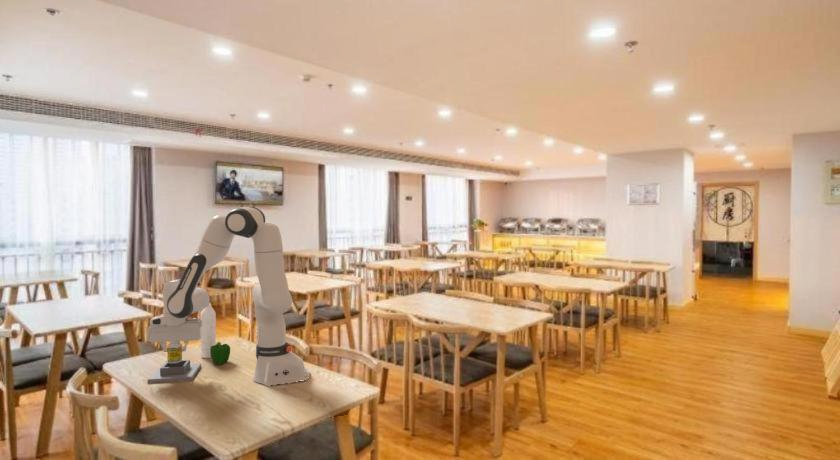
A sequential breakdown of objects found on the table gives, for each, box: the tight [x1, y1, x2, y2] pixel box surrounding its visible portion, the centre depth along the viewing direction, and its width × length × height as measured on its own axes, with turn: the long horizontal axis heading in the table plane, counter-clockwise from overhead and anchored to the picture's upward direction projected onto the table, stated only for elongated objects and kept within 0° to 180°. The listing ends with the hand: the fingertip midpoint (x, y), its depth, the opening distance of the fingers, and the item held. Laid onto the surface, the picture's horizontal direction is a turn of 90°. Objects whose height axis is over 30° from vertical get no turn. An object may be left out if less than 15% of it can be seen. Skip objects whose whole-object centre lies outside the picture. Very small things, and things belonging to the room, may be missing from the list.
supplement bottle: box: [166, 340, 183, 363], centre depth 193 cm, size 5×5×10 cm
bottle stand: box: [147, 359, 202, 384], centre depth 194 cm, size 16×16×4 cm
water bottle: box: [199, 302, 217, 359], centre depth 216 cm, size 9×6×25 cm
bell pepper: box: [210, 341, 231, 366], centre depth 208 cm, size 8×8×10 cm
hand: (174, 351), depth 193 cm, fingers closed on supplement bottle, 5 cm apart
